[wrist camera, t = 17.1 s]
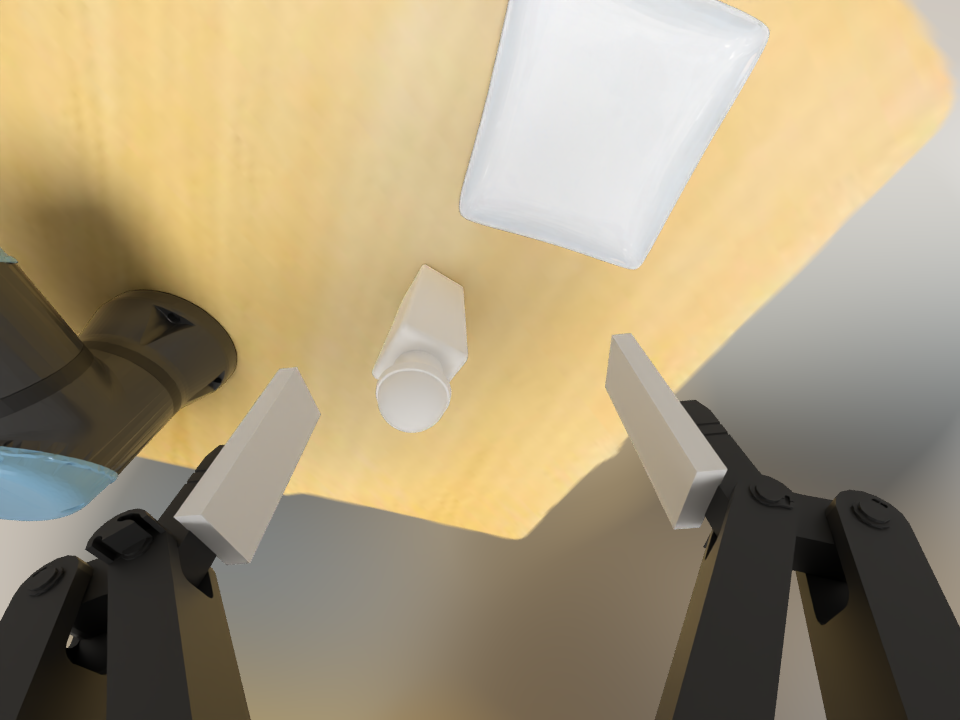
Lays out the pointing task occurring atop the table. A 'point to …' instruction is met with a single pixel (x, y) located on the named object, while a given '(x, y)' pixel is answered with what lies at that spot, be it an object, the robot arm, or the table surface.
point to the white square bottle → (422, 353)
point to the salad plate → (603, 117)
